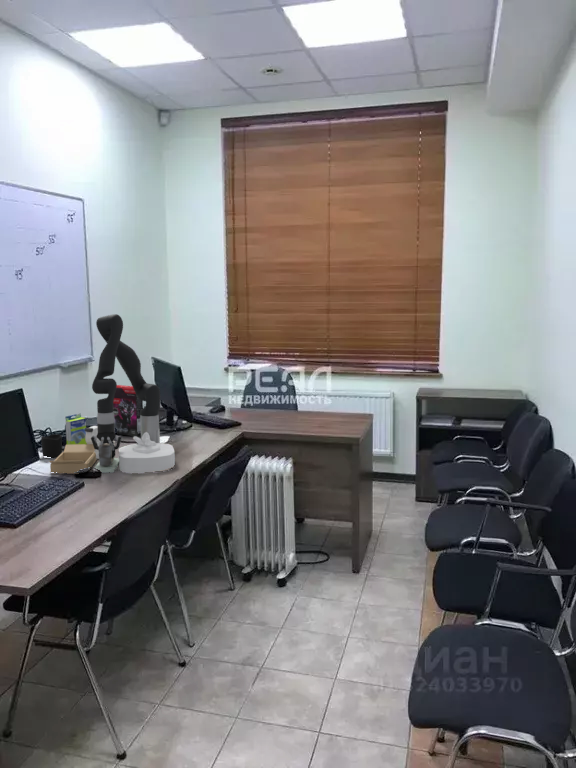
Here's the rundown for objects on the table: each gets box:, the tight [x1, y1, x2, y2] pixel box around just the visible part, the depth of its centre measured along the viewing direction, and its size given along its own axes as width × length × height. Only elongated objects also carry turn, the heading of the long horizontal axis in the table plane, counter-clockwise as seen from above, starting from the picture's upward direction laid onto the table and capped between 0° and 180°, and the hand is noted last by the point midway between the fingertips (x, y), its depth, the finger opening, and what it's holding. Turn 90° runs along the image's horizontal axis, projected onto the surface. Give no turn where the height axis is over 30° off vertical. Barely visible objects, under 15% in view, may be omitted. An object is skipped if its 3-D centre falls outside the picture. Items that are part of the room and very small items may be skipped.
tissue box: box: [118, 432, 176, 474], centre depth 293 cm, size 25×25×16 cm
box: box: [64, 412, 87, 445], centre depth 320 cm, size 10×4×17 cm, turn 151°
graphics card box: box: [113, 384, 144, 437], centre depth 350 cm, size 17×7×27 cm, turn 68°
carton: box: [48, 444, 97, 474], centre depth 288 cm, size 16×28×7 cm, turn 5°
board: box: [94, 457, 119, 474], centre depth 290 cm, size 9×18×2 cm, turn 5°
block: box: [98, 440, 116, 465], centre depth 290 cm, size 4×13×8 cm, turn 5°
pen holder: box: [40, 433, 63, 459], centre depth 306 cm, size 9×9×10 cm
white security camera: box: [85, 425, 100, 460], centre depth 307 cm, size 12×11×15 cm
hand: (107, 457), depth 290 cm, fingers closed on block, 4 cm apart
